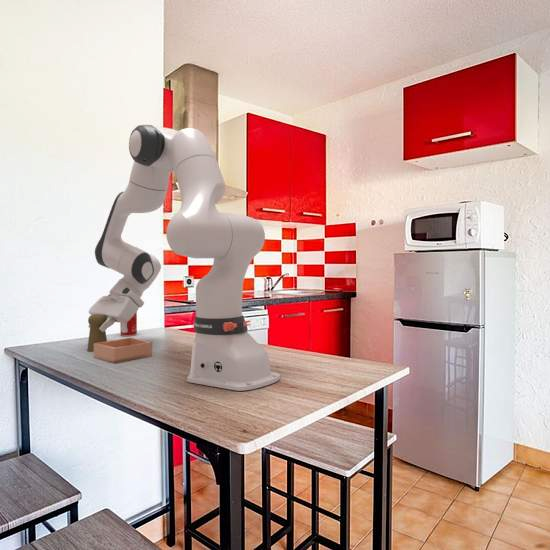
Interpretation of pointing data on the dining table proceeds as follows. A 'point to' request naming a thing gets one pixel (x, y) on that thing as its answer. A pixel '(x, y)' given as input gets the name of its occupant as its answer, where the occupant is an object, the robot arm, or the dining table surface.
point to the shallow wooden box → (122, 350)
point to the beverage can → (129, 327)
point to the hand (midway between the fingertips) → (95, 329)
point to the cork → (96, 331)
